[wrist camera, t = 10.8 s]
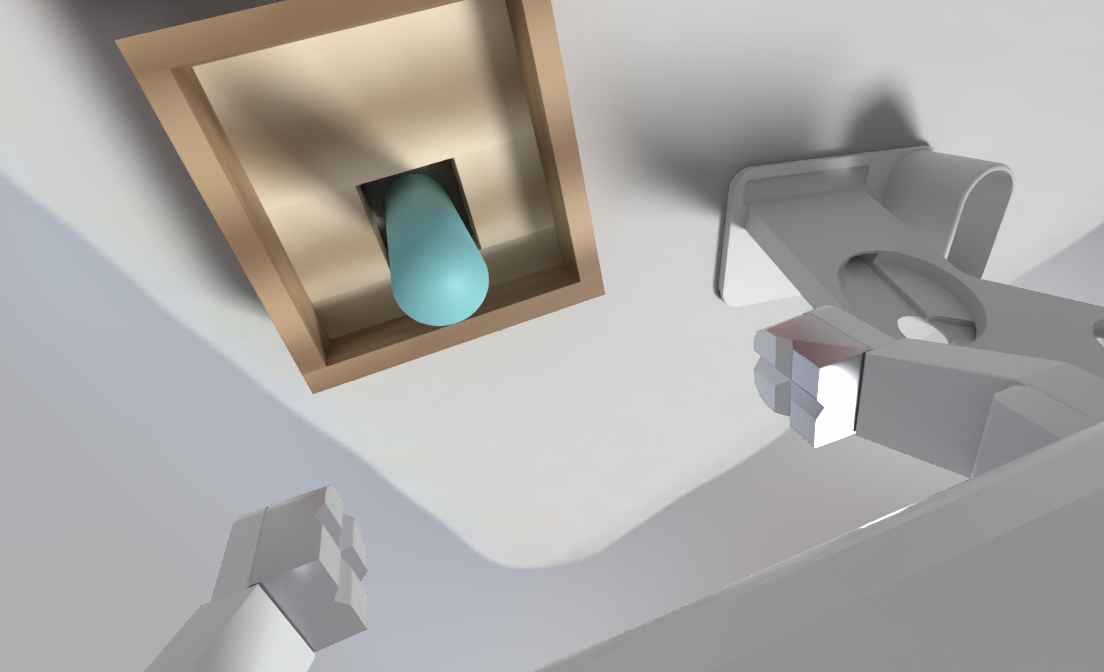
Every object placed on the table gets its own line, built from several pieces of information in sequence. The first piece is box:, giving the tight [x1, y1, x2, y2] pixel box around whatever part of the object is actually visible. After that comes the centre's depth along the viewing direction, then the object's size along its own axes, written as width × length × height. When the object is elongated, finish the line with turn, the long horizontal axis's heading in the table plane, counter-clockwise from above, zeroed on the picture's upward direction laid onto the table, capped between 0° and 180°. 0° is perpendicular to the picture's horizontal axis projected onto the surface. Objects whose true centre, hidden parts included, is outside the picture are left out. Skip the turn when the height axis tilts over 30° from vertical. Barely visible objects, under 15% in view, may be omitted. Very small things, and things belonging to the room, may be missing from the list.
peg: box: [384, 173, 489, 326], centre depth 25 cm, size 4×4×12 cm
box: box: [114, 0, 605, 394], centre depth 27 cm, size 16×16×6 cm
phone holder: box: [718, 146, 1104, 379], centre depth 32 cm, size 17×10×18 cm, turn 93°
